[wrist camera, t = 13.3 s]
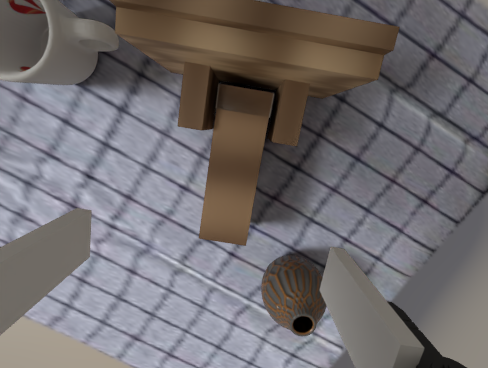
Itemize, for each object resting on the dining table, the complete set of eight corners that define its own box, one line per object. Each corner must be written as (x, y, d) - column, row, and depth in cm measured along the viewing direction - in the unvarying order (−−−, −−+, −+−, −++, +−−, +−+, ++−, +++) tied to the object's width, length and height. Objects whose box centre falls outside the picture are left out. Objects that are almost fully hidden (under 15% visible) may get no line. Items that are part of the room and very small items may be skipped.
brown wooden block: (246, 222, 31) (246, 245, 25) (207, 216, 31) (197, 238, 25) (268, 99, 28) (274, 93, 22) (224, 92, 28) (218, 83, 22)
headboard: (166, 121, 28) (102, 118, 16) (173, 45, 27) (108, -27, 14) (311, 145, 29) (363, 162, 16) (328, 72, 27) (399, 27, 14)
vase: (317, 295, 33) (341, 355, 24) (261, 299, 33) (267, 359, 25) (315, 244, 31) (341, 289, 23) (257, 248, 32) (262, 294, 23)
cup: (132, 7, 26) (84, -44, 18) (140, 92, 28) (99, 79, 20) (24, 9, 26) (-70, -40, 18) (39, 93, 28) (-41, 82, 20)
